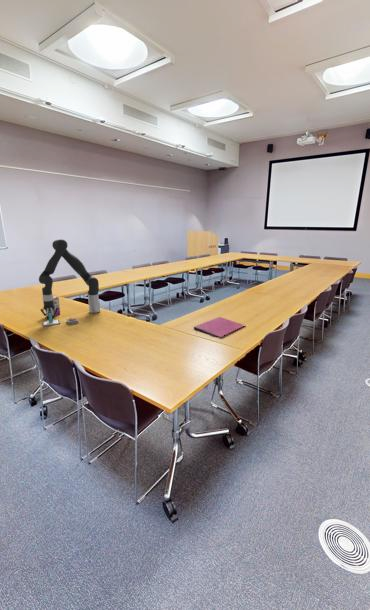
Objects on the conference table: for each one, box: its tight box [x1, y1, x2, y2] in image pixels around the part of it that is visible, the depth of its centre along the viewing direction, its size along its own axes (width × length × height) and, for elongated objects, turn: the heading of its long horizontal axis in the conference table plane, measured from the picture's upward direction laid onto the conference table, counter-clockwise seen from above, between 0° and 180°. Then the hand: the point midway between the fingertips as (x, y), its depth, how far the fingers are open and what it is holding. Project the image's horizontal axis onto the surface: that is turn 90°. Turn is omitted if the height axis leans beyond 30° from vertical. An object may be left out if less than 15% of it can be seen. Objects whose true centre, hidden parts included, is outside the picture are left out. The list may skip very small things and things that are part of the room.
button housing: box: [66, 317, 79, 326], centre depth 243 cm, size 8×8×2 cm
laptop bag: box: [193, 316, 244, 339], centre depth 236 cm, size 40×4×27 cm
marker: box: [48, 310, 54, 323], centre depth 239 cm, size 3×3×10 cm
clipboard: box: [41, 319, 61, 328], centre depth 241 cm, size 13×10×1 cm
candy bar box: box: [53, 296, 61, 317], centre depth 258 cm, size 11×5×16 cm, turn 146°
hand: (50, 319), depth 240 cm, fingers closed on marker, 3 cm apart
